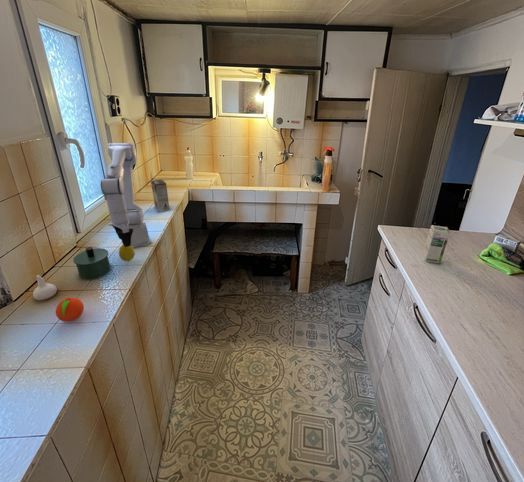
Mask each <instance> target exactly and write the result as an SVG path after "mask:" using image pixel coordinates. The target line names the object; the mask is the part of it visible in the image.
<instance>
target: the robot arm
mask: <svg viewBox="0 0 524 482" xmlns="http://www.w3.org/2000/svg"><path fill="white" fill-rule="evenodd" d="M107 154H108V156H109V158H110V159H111V163H110V164H109V165H107V168H106V172H105V176H104V178H103V179H102V180H100V191H101V193H102V195H103V197H104V200H105V201H106V204H107V208H108V213H109V216H110V221H109V222H108V226H109V227H111V226H112V228H113V229H114V231H115V233H116V235H117V238H118V239H119V240H121V243H122V245H124V246H125V247H128V246H132V247H133V249H134V248H139V247H142V246H147V245H150V244H151V242H150V236H149V231H148V227H147V224H146V222H144V220H145V219H144V218H145V217H144V212H143V208H142V207H141V206H140V205H139V204H138V203H135V201H136V200H135V189H134V174H133V170H134V169H133V167H134V165H136V164H137V161H138V158H137V150H136V145H135V143H134V142H109V143H108V144H107Z"/></svg>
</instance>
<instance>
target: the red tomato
mask: <svg viewBox="0 0 524 482" xmlns="http://www.w3.org/2000/svg"><path fill="white" fill-rule="evenodd" d="M84 309H85V306H84V303H83V301H82V300H81V299H80V298H77V297H73V296H72V297H67V298H64V299H62V300H61V301H59V303H58V304H57V305H56V307H55V316H56V318H57V319H58V320H60V321H62V322H66V323H69V322H74V321H76V320H78V319H79V318H80V317H81V316H82V315H83V313H84Z"/></svg>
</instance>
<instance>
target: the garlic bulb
mask: <svg viewBox="0 0 524 482" xmlns="http://www.w3.org/2000/svg"><path fill="white" fill-rule="evenodd" d="M35 277H36V282H37V287H36V288H34V290H33V292H32V297H33V299H35V301H45V300H48V299H50V298H52V297H54V295H56V294H57V292H58V289H57V286H56V285H55V284H53V283H47V282H46V281H45V280H44V278H43V277H42V275H41V274H37V275H35Z"/></svg>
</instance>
